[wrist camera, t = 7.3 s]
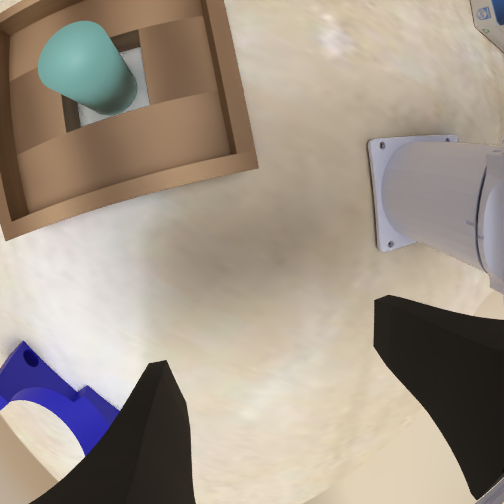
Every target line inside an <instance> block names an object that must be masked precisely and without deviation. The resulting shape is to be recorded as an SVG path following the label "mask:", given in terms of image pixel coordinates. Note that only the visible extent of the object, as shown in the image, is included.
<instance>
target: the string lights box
mask: <svg viewBox="0 0 504 504" xmlns="http://www.w3.org/2000/svg"><path fill="white" fill-rule="evenodd" d="M470 2H471V7H472V13H473V19H474V25H475V27H476V28H477V29H478V30H479V31H480V32H481V33H483V34H484V35H485V36H486V37H487V38H488V39H490V40H491V41H492V42H493V43H494V44H495V45H496V46H497V47H498V48H499V49H500V50H501V51H503V52H504V0H470Z"/></svg>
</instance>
